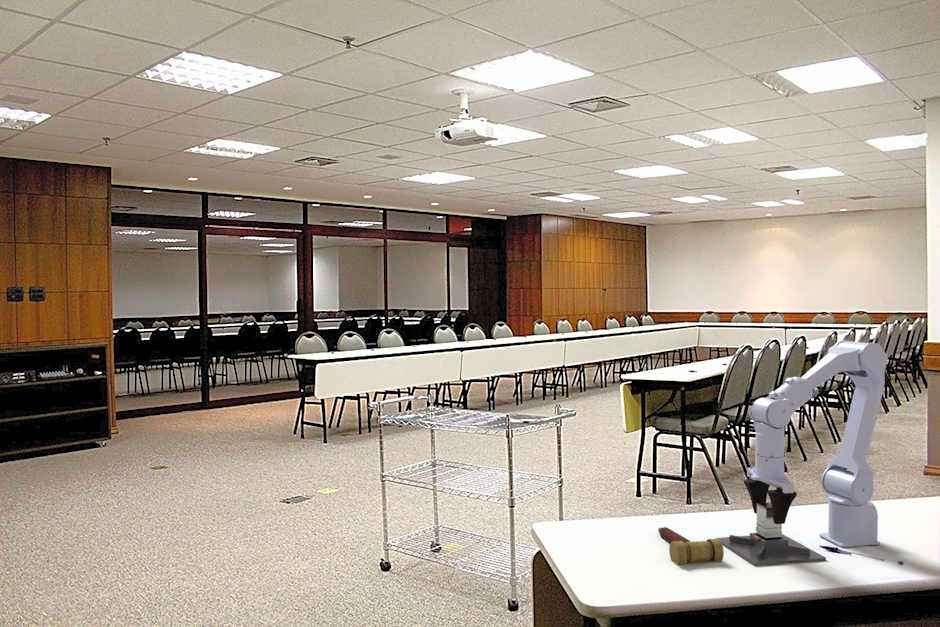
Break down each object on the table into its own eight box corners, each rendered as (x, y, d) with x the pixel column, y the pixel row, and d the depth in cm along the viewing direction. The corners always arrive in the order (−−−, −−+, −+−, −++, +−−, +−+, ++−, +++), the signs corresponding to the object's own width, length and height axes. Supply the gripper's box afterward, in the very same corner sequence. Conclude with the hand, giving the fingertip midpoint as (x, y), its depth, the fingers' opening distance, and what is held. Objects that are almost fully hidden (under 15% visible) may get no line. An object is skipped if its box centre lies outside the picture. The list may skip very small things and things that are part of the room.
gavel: (638, 520, 179) (679, 518, 181) (638, 540, 179) (680, 538, 181) (677, 544, 159) (724, 541, 160) (678, 567, 158) (724, 564, 160)
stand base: (781, 535, 177) (781, 522, 177) (826, 560, 161) (826, 546, 161) (715, 540, 174) (715, 527, 174) (754, 566, 158) (754, 551, 158)
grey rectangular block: (772, 531, 170) (772, 502, 169) (782, 537, 166) (782, 507, 166) (755, 532, 169) (756, 503, 169) (765, 538, 165) (766, 508, 165)
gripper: (734, 448, 173) (734, 509, 174) (771, 463, 159) (771, 529, 159) (763, 447, 174) (763, 507, 175) (803, 461, 160) (802, 527, 161)
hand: (769, 518), depth 167 cm, fingers open, 7 cm apart
